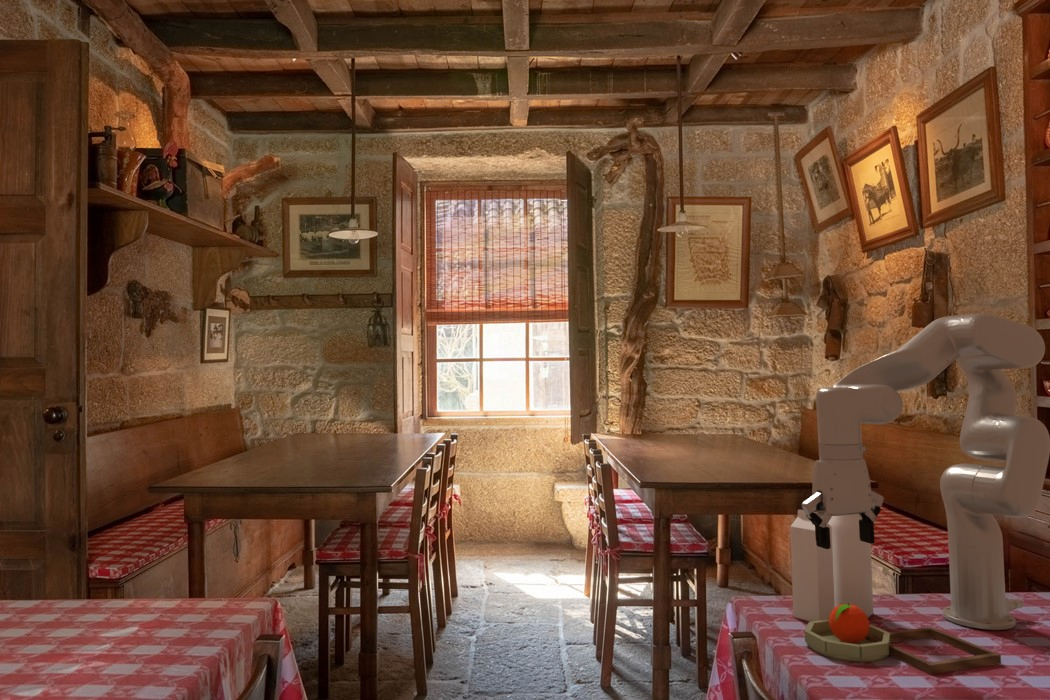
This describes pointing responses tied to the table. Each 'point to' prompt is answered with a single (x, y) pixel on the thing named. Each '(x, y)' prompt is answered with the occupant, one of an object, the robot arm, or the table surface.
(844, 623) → the clementine
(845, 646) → the dish
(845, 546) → the alcohol
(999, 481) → the robot arm
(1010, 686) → the table surface
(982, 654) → the brown rectangular frame
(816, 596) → the milk
